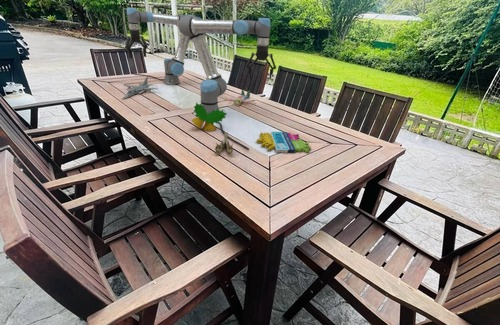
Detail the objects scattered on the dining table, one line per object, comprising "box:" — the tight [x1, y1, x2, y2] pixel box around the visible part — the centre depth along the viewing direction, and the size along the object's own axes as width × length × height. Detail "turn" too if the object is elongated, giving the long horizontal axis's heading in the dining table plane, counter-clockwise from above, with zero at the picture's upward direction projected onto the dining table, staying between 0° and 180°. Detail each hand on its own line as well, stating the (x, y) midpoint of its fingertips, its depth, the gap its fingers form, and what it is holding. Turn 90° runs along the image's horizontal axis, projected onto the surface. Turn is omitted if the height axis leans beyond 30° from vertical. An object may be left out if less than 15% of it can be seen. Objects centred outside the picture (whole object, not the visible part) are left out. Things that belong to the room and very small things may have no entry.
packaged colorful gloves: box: [256, 131, 312, 154], centre depth 152 cm, size 26×2×30 cm
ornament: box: [191, 102, 228, 132], centre depth 162 cm, size 21×8×15 cm, turn 105°
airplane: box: [121, 75, 158, 100], centre depth 222 cm, size 38×32×10 cm
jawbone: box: [214, 131, 234, 156], centre depth 136 cm, size 9×15×10 cm
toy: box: [223, 89, 257, 106], centre depth 219 cm, size 28×7×30 cm
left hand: (138, 57), depth 224 cm, fingers open, 13 cm apart
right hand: (260, 79), depth 179 cm, fingers open, 13 cm apart
